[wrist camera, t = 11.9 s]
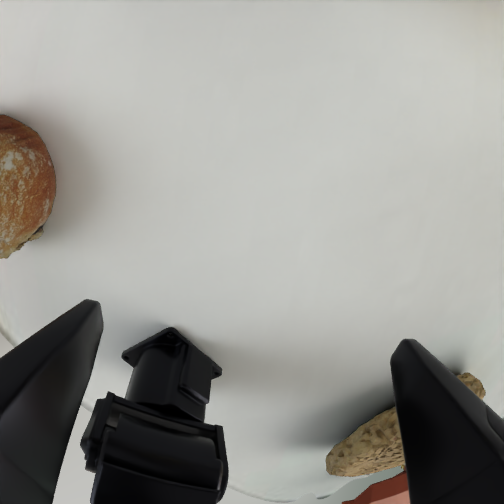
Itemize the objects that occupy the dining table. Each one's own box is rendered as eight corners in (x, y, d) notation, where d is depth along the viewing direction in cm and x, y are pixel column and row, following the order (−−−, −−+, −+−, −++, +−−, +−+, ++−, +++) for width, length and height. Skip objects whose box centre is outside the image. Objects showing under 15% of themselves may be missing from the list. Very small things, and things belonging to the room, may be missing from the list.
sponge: (463, 346, 28) (303, 439, 28) (500, 397, 22) (330, 502, 22) (444, 387, 36) (323, 456, 36) (470, 427, 30) (343, 501, 30)
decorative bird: (345, 503, 46) (348, 559, 31) (324, 453, 44) (327, 520, 30) (473, 455, 41) (498, 503, 26) (477, 394, 39) (515, 446, 24)
